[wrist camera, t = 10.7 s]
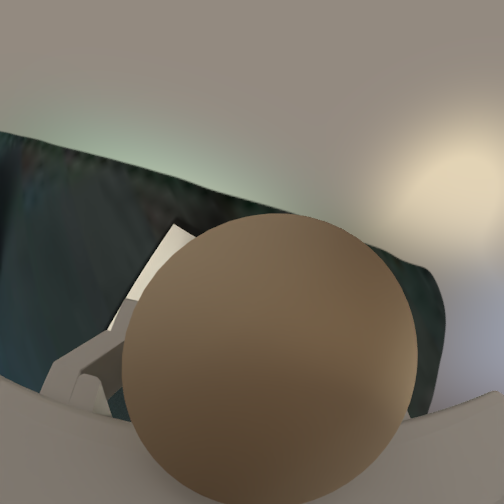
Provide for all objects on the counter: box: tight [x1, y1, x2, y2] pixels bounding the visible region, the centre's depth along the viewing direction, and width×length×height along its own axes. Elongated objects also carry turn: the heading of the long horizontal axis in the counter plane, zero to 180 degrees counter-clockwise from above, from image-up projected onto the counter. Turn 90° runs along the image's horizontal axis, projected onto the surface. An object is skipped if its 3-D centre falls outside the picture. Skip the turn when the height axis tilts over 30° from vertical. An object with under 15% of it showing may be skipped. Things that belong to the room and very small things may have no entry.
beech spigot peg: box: [122, 214, 417, 504], centre depth 10 cm, size 4×4×14 cm
